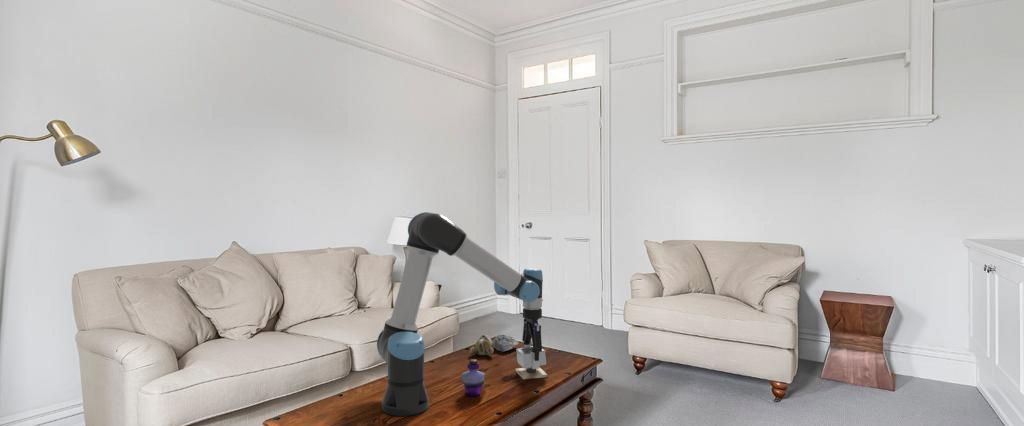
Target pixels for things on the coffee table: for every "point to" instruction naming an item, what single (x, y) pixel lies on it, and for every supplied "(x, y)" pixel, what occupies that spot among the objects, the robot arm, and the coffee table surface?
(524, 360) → the grey hollow square block
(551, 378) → the coffee table surface
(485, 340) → the ceramic sculpture
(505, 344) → the rock
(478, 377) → the potion bottle
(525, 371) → the cream square tile
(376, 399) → the coffee table surface
